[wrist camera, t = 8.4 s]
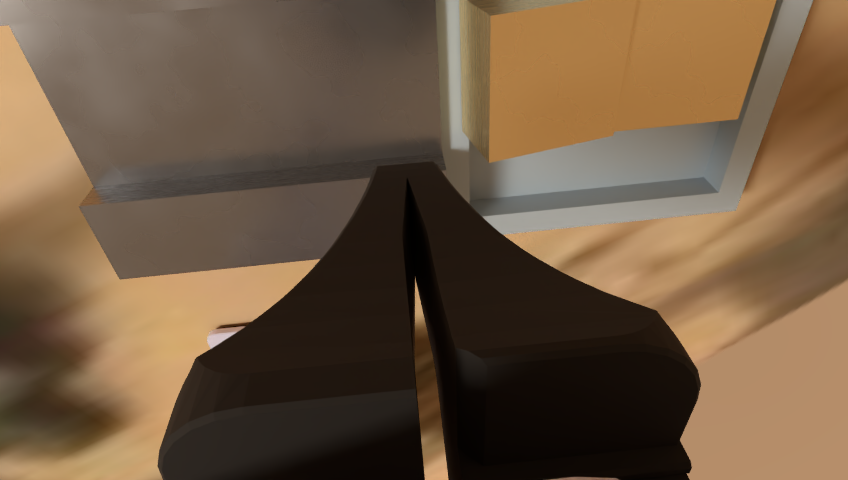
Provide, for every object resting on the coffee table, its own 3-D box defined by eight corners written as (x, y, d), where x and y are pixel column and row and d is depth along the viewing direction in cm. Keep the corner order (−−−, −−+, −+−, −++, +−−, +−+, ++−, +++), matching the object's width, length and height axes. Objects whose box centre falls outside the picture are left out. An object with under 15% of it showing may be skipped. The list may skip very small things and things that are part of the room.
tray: (715, 190, 23) (735, 210, 22) (441, 217, 23) (445, 240, 21) (859, -246, 14) (906, -254, 13) (418, -213, 14) (424, -217, 13)
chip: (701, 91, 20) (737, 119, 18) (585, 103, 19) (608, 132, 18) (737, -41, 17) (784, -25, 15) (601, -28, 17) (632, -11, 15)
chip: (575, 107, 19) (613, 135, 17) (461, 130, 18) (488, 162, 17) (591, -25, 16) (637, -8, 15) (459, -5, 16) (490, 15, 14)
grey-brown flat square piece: (440, 198, 22) (449, 245, 19) (148, 227, 22) (119, 279, 19) (421, -165, 15) (432, -164, 12) (-22, -131, 14) (-106, -122, 12)
